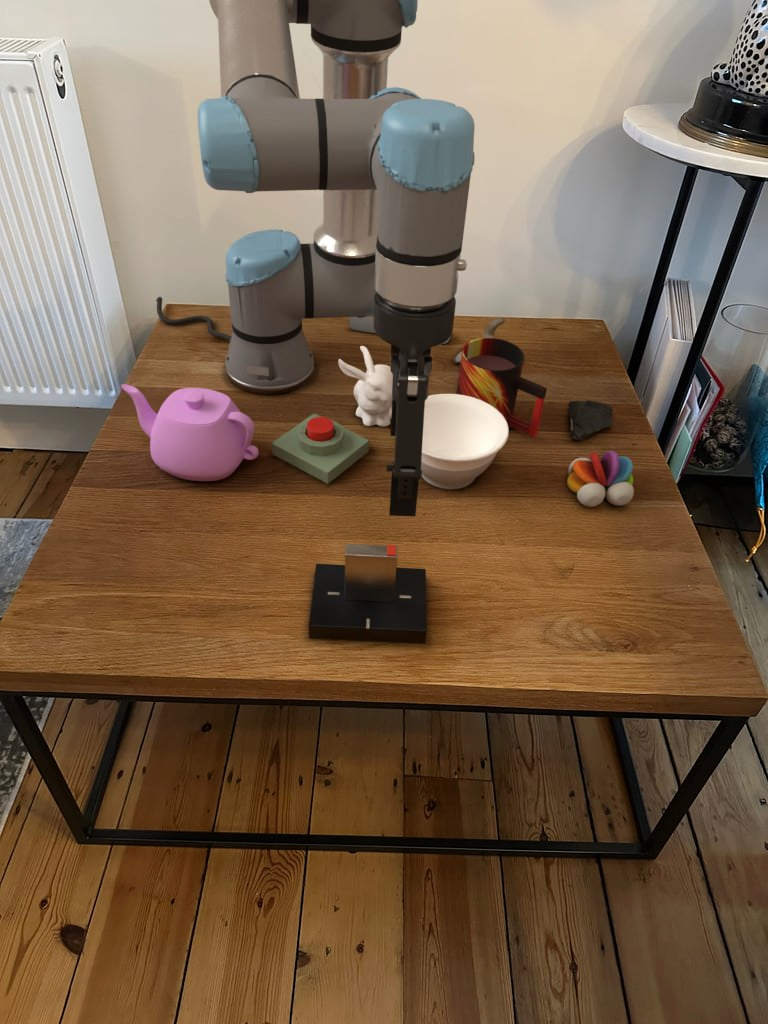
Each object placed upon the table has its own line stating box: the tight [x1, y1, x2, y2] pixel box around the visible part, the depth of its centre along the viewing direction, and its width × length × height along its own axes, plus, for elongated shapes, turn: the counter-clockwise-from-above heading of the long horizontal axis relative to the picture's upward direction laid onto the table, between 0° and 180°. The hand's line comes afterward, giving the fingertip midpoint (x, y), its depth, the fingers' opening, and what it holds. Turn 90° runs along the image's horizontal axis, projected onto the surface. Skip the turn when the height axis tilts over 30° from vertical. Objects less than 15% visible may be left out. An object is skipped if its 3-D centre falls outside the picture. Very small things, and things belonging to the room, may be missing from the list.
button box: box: [271, 412, 370, 485], centre depth 116 cm, size 11×10×4 cm
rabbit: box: [337, 345, 399, 427], centre depth 122 cm, size 12×9×12 cm
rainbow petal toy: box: [566, 450, 635, 508], centre depth 111 cm, size 8×10×7 cm
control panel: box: [308, 563, 428, 644], centre depth 94 cm, size 14×10×3 cm
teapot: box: [120, 383, 259, 482], centre depth 111 cm, size 20×13×12 cm, turn 78°
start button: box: [307, 416, 334, 442], centre depth 114 cm, size 4×4×2 cm
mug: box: [456, 337, 548, 438], centre depth 122 cm, size 10×14×12 cm
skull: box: [453, 317, 506, 364], centre depth 137 cm, size 10×12×6 cm
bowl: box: [421, 393, 510, 490], centre depth 113 cm, size 16×16×8 cm
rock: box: [567, 399, 614, 441], centre depth 123 cm, size 9×7×5 cm
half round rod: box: [349, 316, 452, 345], centre depth 144 cm, size 4×20×2 cm, turn 77°
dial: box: [344, 543, 398, 602], centre depth 91 cm, size 6×2×8 cm, turn 89°
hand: (402, 472), depth 84 cm, fingers open, 13 cm apart
